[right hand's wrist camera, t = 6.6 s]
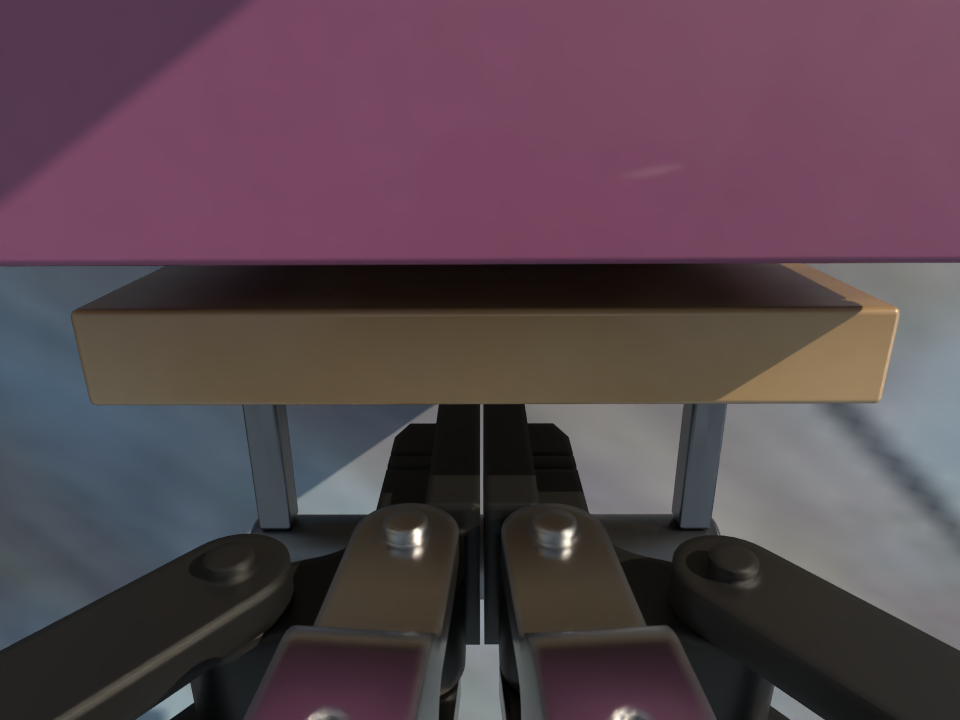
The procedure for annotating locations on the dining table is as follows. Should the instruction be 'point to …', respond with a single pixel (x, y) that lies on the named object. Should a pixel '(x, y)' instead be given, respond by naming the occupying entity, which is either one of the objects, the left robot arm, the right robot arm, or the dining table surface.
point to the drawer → (486, 356)
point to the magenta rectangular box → (478, 132)
